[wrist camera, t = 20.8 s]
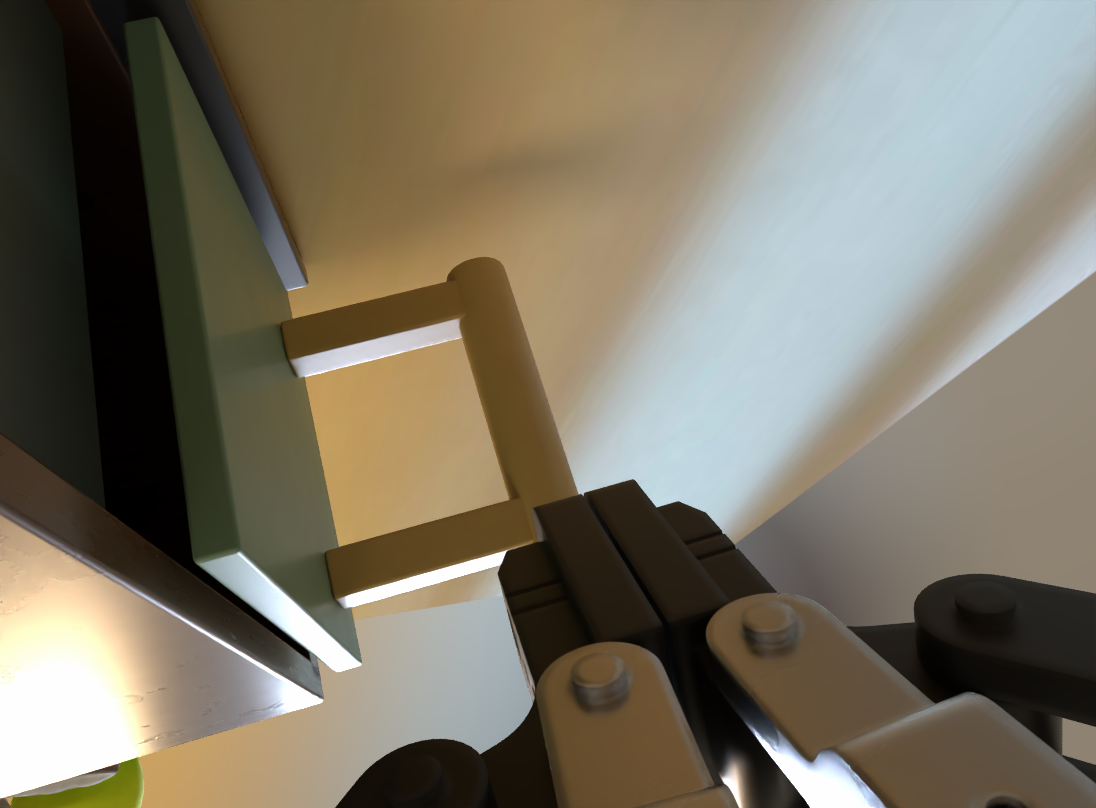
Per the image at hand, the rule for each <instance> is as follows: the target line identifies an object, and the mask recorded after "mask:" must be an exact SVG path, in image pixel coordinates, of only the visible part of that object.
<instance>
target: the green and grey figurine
mask: <svg viewBox="0 0 1096 808" xmlns="http://www.w3.org/2000/svg"><path fill="white" fill-rule="evenodd" d="M143 793H144V777H143V771H142V767H141V763H140V761H139V758H138V757H137V758H133V759H130V760H126V761H123V762H120V767H119V769H118V771H117V773H116V774H115V775H113V776H112V777H110V778H108V779H106V780H104V781H102V782H100V783H98V784H94V785H91V786H86V787H77V788H72V789H67V790H64V791H61V792H58V793H52V794H38V795H31V796H18V797H13V799H12V801H11V808H141V803H142V798H143Z"/></svg>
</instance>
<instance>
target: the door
mask: <svg viewBox="0 0 1096 808" xmlns="http://www.w3.org/2000/svg"><path fill="white" fill-rule="evenodd" d="M124 35H125V43H126V50H127V58H128V66H129V73H130V81H131V88H132V96H133V104H134V111H135V119H136V127H137V134H138V142H139V149H140V157H141V165H142V172H143V180H144V188H145V195H146V203H147V210H148V218H149V226H150V233H151V241H152V249H153V256H154V264H155V271H156V279H157V287H158V294H159V302H160V310H161V317H162V325H163V332H164V340H165V348H166V355H167V363H168V371H169V378H170V386H171V393H172V401H173V409H174V416H175V424H176V432H177V439H178V447H179V454H180V462H181V470H182V477H183V485H184V493H185V500H186V508H187V515H188V523H189V531H190V538H191V546H192V554H193V560H194V562H195V563H196V564H197V565H198V566H200V567H201V568H202V569H203V570H205V571H206V572H207V573H209V574H210V575H211V576H212V577H214V578H215V579H216V580H218V581H219V582H220V583H221V584H223V585H224V586H225V587H227V588H228V589H229V590H230V591H232V592H233V593H234V594H236V595H237V596H238V597H240V598H241V599H242V600H243V601H245V602H246V603H247V604H249V605H250V606H251V607H252V608H254V609H255V610H256V611H258V612H259V613H260V614H261V615H263V616H264V617H265V618H267V619H268V620H269V621H270V622H272V623H273V624H274V625H276V626H277V627H278V628H279V629H281V630H282V631H283V632H285V633H286V634H287V635H288V636H290V637H291V638H292V639H294V640H295V641H296V642H297V643H299V644H300V645H301V646H303V647H304V648H305V649H306V650H308V651H309V652H310V653H312V654H313V655H314V656H315V657H317V658H318V659H319V660H321V661H322V662H323V663H325V664H326V665H327V666H328V667H330V668H331V669H332V670H334V671H335V672H340V671H343V670H347V669H350V668H353V667H357V666H359V665H361V664H362V659H361V654H360V649H359V644H358V639H357V635H356V629H355V624H354V619H353V614H352V610H351V607H354V606H357V605H361V604H364V603H368V602H371V601H375V600H378V599H382V598H385V597H389V596H392V595H396V594H399V593H403V592H406V591H410V590H413V589H417V588H420V587H424V586H427V585H431V584H434V583H438V582H441V581H445V580H448V579H452V578H455V577H459V576H462V575H466V574H469V573H473V572H476V571H480V570H483V569H487V568H490V567H494V566H497V565H501V563H502V561H503V558H504V556H505V553H506V551H508V550H511V549H515V548H518V547H522V546H525V545H529V544H532V543H536V542H538V538H537V534H536V529H535V525H534V520H533V514H532V508H533V507H537V506H540V505H544V504H547V503H551V502H554V501H558V500H561V499H565V498H568V497H572V496H576V495H579V494H578V491H577V488H576V485H575V482H574V479H573V476H572V473H571V470H570V467H569V464H568V461H567V458H566V455H565V452H564V449H563V446H562V442H561V439H560V436H559V433H558V430H557V427H556V424H555V421H554V418H553V415H552V412H551V409H550V406H549V403H548V400H547V397H546V393H545V390H544V387H543V384H542V381H541V378H540V375H539V372H538V369H537V366H536V363H535V360H534V357H533V354H532V351H531V348H530V345H529V341H528V338H527V335H526V332H525V329H524V326H523V323H522V320H521V317H520V314H519V311H518V308H517V305H516V302H515V299H514V296H513V292H512V289H511V286H510V283H509V280H508V277H507V274H506V271H505V268H504V266H503V264H502V263H501V262H499V261H498V260H496V259H494V258H489V257H480V258H474V259H470V260H467V261H465V262H462V263H461V264H459V265H457V266H456V267H455V268H453V269H452V270H451V272H450V273H449V275H448V277H447V281H446V282H444V283H440V284H436V285H431V286H427V287H423V288H419V289H415V290H411V291H407V292H403V293H398V294H394V295H390V296H386V297H382V298H378V299H374V300H369V301H365V302H361V303H357V304H353V305H349V306H345V307H340V308H336V309H332V310H328V311H324V312H320V313H316V314H311V315H307V316H303V317H299V318H295V319H293V318H292V313H291V308H290V303H289V298H288V293H287V291H286V289H285V286H284V284H283V282H282V280H281V278H280V276H279V274H278V272H277V269H276V267H275V265H274V263H273V261H272V259H271V257H270V254H269V252H268V250H267V248H266V246H265V244H264V242H263V239H262V237H261V235H260V233H259V231H258V229H257V227H256V225H255V222H254V220H253V218H252V216H251V214H250V212H249V210H248V207H247V205H246V203H245V201H244V199H243V197H242V195H241V193H240V190H239V188H238V186H237V184H236V182H235V180H234V178H233V175H232V173H231V171H230V169H229V167H228V165H227V163H226V161H225V158H224V156H223V154H222V152H221V150H220V148H219V146H218V143H217V141H216V139H215V137H214V135H213V133H212V131H211V128H210V126H209V124H208V122H207V120H206V118H205V116H204V114H203V111H202V109H201V107H200V105H199V103H198V101H197V99H196V96H195V94H194V92H193V90H192V88H191V86H190V84H189V82H188V79H187V77H186V75H185V73H184V71H183V69H182V67H181V64H180V62H179V60H178V58H177V56H176V54H175V52H174V49H173V47H172V45H171V43H170V41H169V39H168V37H167V35H166V32H165V30H164V28H163V26H162V24H161V22H160V20H159V19H158V18H157V17H151V18H146V19H141V20H135V21H130V22H126V23H124ZM458 338H462V339H463V343H464V346H465V350H466V353H467V356H468V360H469V363H470V367H471V370H472V374H473V377H474V380H475V384H476V387H477V391H478V394H479V398H480V401H481V404H482V408H483V411H484V415H485V418H486V422H487V425H488V428H489V432H490V435H491V439H492V442H493V446H494V449H495V452H496V456H497V459H498V463H499V466H500V470H501V473H502V476H503V480H504V483H505V487H506V490H507V494H508V497H509V500H508V501H504V502H500V503H497V504H493V505H489V506H486V507H482V508H479V509H475V510H471V511H468V512H464V513H461V514H457V515H453V516H450V517H446V518H442V519H439V520H435V521H432V522H428V523H424V524H421V525H417V526H413V527H410V528H406V529H403V530H399V531H395V532H392V533H388V534H384V535H381V536H377V537H374V538H370V539H366V540H363V541H359V542H355V543H352V544H348V545H345V546H341V547H339V545H338V540H337V535H336V530H335V526H334V521H333V516H332V511H331V506H330V501H329V496H328V491H327V486H326V481H325V476H324V471H323V466H322V461H321V456H320V451H319V446H318V442H317V437H316V432H315V427H314V422H313V417H312V412H311V407H310V402H309V397H308V392H307V387H306V382H305V377H306V376H310V375H314V374H318V373H322V372H326V371H330V370H334V369H338V368H342V367H346V366H350V365H354V364H358V363H362V362H366V361H370V360H374V359H378V358H382V357H386V356H390V355H394V354H398V353H402V352H406V351H410V350H414V349H418V348H422V347H426V346H430V345H434V344H438V343H442V342H446V341H450V340H454V339H458Z"/></svg>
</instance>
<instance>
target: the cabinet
mask: <svg viewBox="0 0 1096 808" xmlns="http://www.w3.org/2000/svg"><path fill="white" fill-rule="evenodd" d="M151 17H157V18H158V19H159V20H160V22H161V24H162V26H163V28H164V30H165V32H166V35H167V37H168V39H169V41H170V43H171V45H172V47H173V49H174V52H175V54H176V56H177V58H178V60H179V62H180V64H181V67H182V69H183V71H184V73H185V75H186V77H187V79H188V82H189V84H190V86H191V88H192V90H193V92H194V94H195V96H196V99H197V101H198V103H199V105H200V107H201V109H202V111H203V114H204V116H205V118H206V120H207V122H208V124H209V126H210V128H211V131H212V133H213V135H214V137H215V139H216V141H217V143H218V146H219V148H220V150H221V152H222V154H223V156H224V158H225V161H226V163H227V165H228V167H229V169H230V171H231V173H232V175H233V178H234V180H235V182H236V184H237V186H238V188H239V190H240V193H241V195H242V197H243V199H244V201H245V203H246V205H247V207H248V210H249V212H250V214H251V216H252V218H253V220H254V222H255V225H256V227H257V229H258V231H259V233H260V235H261V237H262V239H263V242H264V244H265V246H266V248H267V250H268V252H269V254H270V257H271V259H272V261H273V263H274V265H275V267H276V269H277V272H278V274H279V276H280V278H281V280H282V282H283V284H284V286H285V289H286V291H288V290H292V289H296V288H301V287H305V286H307V285H308V278H307V273H306V269H305V266H304V264H303V262H302V259H301V257H300V254H299V252H298V250H297V247H296V245H295V242H294V240H293V238H292V235H291V233H290V230H289V228H288V226H287V223H286V221H285V218H284V216H283V214H282V211H281V209H280V206H279V204H278V201H277V199H276V197H275V194H274V192H273V189H272V187H271V185H270V182H269V180H268V177H267V175H266V173H265V170H264V168H263V165H262V163H261V161H260V158H259V156H258V153H257V151H256V149H255V146H254V144H253V141H252V139H251V137H250V134H249V132H248V129H247V127H246V125H245V122H244V120H243V117H242V115H241V113H240V110H239V108H238V105H237V103H236V101H235V98H234V96H233V93H232V91H231V89H230V86H229V84H228V81H227V79H226V77H225V74H224V72H223V69H222V67H221V65H220V62H219V60H218V57H217V55H216V53H215V50H214V48H213V45H212V43H211V41H210V38H209V36H208V33H207V31H206V29H205V26H204V24H203V21H202V19H201V17H200V14H199V12H198V9H197V7H196V5H195V2H194V0H0V798H2V797H5V796H9V795H12V794H16V793H19V792H22V791H26V790H29V789H32V788H36V787H39V786H42V785H46V784H49V783H53V782H56V781H59V780H63V779H66V778H69V777H73V776H76V775H79V774H83V773H86V772H89V771H93V770H96V769H100V768H103V767H106V766H110V765H113V764H116V763H120V762H123V761H126V760H130V759H133V758H137V757H140V756H143V755H146V754H150V753H153V752H157V751H160V750H163V749H167V748H170V747H173V746H177V745H180V744H184V743H187V742H190V741H194V740H197V739H200V738H204V737H207V736H210V735H214V734H217V733H221V732H223V731H227V730H231V729H234V728H237V727H241V726H244V725H247V724H250V723H254V722H257V721H261V720H264V719H268V718H271V717H274V716H277V715H281V714H284V713H288V712H291V711H294V710H297V709H301V708H304V707H308V706H311V705H314V704H318V703H321V702H322V701H323V699H324V696H323V690H322V685H321V677H320V672H319V667H318V661H317V657H315V656H314V655H313V654H312V653H310V652H309V651H308V650H306V649H305V648H304V647H303V646H301V645H300V644H299V643H297V642H296V641H295V640H294V639H292V638H291V637H290V636H288V635H287V634H286V633H285V632H283V631H282V630H281V629H279V628H278V627H277V626H276V625H274V624H273V623H272V622H270V621H269V620H268V619H267V618H265V617H264V616H263V615H261V614H260V613H259V612H258V611H256V610H255V609H254V608H252V607H251V606H250V605H249V604H247V603H246V602H245V601H243V600H242V599H241V598H240V597H238V596H237V595H236V594H234V593H233V592H232V591H230V590H229V589H228V588H227V587H225V586H224V585H223V584H221V583H220V582H219V581H218V580H216V579H215V578H214V577H212V576H211V575H210V574H209V573H207V572H206V571H205V570H203V569H202V568H201V567H200V566H198V565H197V564H196V563H195V562H194V560H193V554H192V546H191V538H190V531H189V523H188V515H187V508H186V500H185V493H184V485H183V477H182V470H181V462H180V454H179V447H178V439H177V432H176V424H175V416H174V409H173V401H172V393H171V386H170V378H169V371H168V363H167V355H166V348H165V340H164V332H163V325H162V317H161V310H160V302H159V294H158V287H157V279H156V271H155V264H154V256H153V249H152V241H151V233H150V226H149V218H148V210H147V203H146V195H145V188H144V180H143V172H142V165H141V157H140V149H139V142H138V134H137V127H136V119H135V111H134V104H133V96H132V88H131V81H130V73H129V66H128V58H127V50H126V43H125V35H124V23H126V22H130V21H135V20H141V19H146V18H151Z"/></svg>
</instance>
